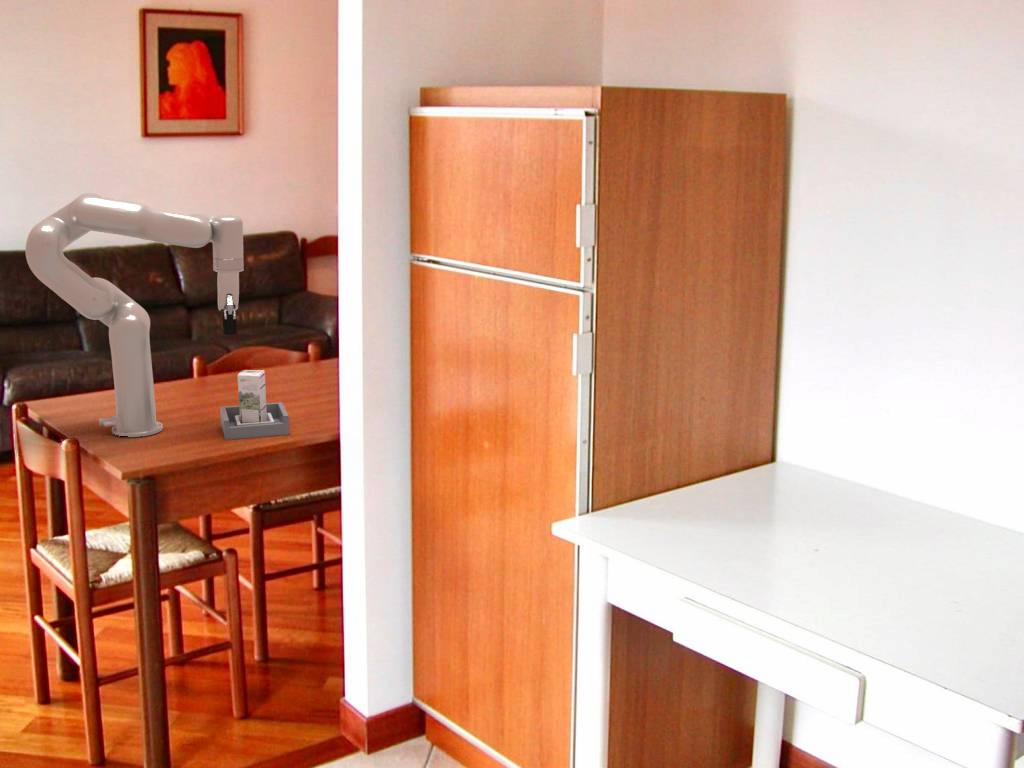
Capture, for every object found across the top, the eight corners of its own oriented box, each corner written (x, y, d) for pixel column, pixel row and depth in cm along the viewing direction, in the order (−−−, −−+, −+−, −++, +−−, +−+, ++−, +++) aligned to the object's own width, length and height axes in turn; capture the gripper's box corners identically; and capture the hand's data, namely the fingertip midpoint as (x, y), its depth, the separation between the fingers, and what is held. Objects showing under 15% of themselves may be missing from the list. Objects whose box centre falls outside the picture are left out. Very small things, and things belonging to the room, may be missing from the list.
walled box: (225, 439, 296) (224, 420, 295) (221, 425, 309) (220, 407, 308) (289, 434, 301) (288, 415, 300) (282, 420, 314) (282, 402, 313)
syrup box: (268, 423, 308) (265, 369, 304) (261, 429, 302) (258, 374, 298) (246, 423, 308) (243, 368, 304) (239, 429, 302) (236, 374, 299)
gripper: (212, 260, 307) (214, 324, 311) (213, 269, 291) (215, 337, 295) (242, 260, 309) (243, 324, 313) (244, 269, 293) (246, 337, 297)
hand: (229, 330), depth 304 cm, fingers open, 9 cm apart
